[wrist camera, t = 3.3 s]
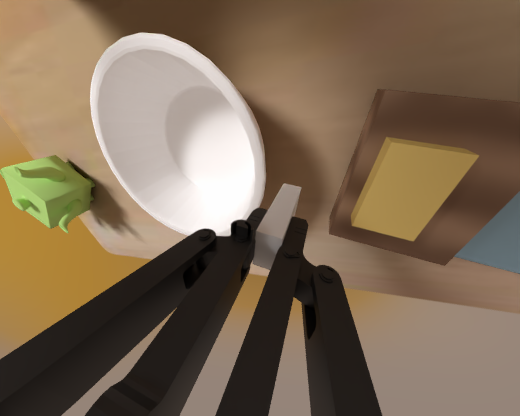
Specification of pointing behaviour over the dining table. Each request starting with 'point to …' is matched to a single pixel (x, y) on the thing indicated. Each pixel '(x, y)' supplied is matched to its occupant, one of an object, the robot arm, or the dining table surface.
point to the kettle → (49, 190)
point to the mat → (497, 240)
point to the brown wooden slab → (447, 134)
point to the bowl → (177, 134)
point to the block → (409, 186)
